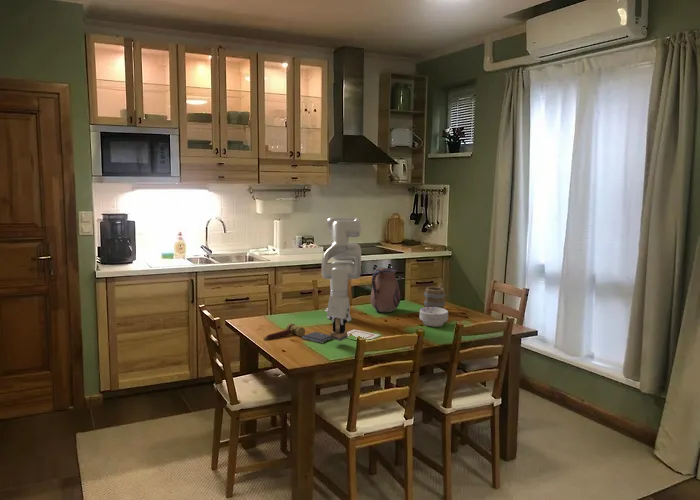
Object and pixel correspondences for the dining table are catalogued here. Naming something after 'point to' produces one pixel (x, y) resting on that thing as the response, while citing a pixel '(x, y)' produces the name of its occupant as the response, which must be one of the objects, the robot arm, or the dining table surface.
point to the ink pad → (316, 337)
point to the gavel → (287, 332)
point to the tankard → (434, 297)
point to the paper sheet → (362, 334)
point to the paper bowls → (433, 316)
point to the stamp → (338, 331)
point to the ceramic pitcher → (385, 290)
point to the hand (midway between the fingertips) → (338, 331)
